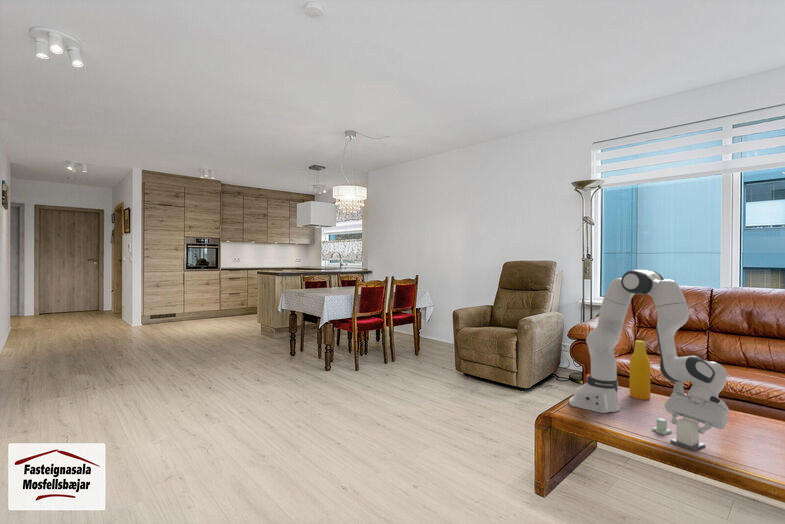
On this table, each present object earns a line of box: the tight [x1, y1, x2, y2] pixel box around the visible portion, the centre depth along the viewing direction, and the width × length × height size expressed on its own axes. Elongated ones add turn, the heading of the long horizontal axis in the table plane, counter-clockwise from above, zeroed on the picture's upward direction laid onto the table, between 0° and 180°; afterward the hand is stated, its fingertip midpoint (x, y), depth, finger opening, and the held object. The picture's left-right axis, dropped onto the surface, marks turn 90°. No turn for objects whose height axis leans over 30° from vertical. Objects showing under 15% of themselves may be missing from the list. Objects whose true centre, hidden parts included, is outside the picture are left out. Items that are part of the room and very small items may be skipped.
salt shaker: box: [672, 381, 685, 394], centre depth 196 cm, size 6×6×13 cm
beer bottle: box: [629, 339, 651, 401], centre depth 207 cm, size 9×9×29 cm
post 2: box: [670, 437, 706, 452], centre depth 155 cm, size 8×8×7 cm
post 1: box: [651, 417, 672, 436], centre depth 167 cm, size 5×5×5 cm
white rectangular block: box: [675, 417, 700, 446], centre depth 155 cm, size 5×5×8 cm
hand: (686, 428), depth 155 cm, fingers open, 8 cm apart
